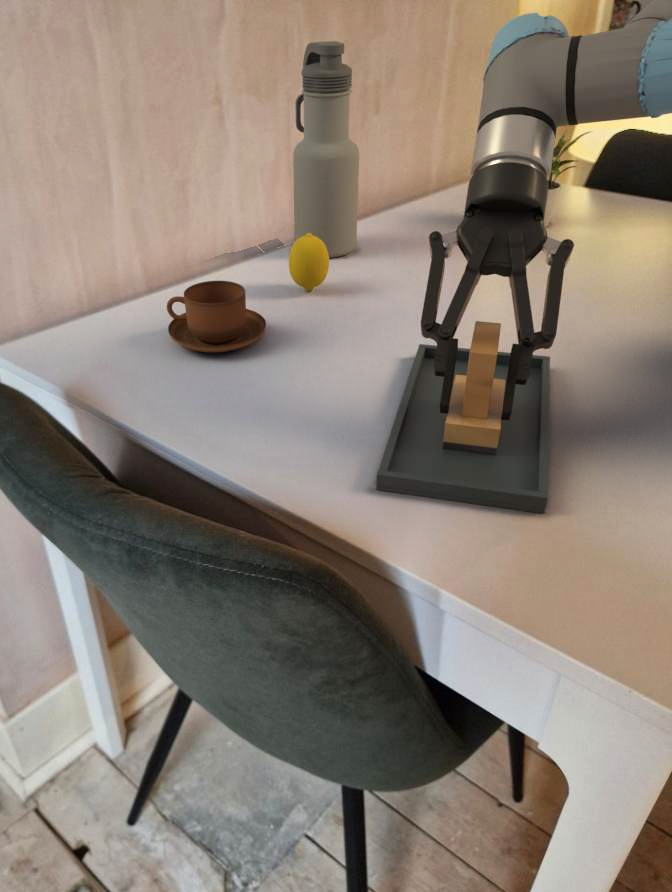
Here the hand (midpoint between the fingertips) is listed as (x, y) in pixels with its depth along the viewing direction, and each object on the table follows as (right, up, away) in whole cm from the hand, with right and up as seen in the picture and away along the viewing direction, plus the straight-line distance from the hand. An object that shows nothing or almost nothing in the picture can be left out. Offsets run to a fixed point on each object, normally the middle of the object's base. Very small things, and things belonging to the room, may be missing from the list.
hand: (474, 412), depth 71 cm
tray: (+1, 0, +6) cm, 6 cm away
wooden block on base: (+1, -1, +5) cm, 5 cm away
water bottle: (-12, +32, +50) cm, 61 cm away
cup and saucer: (-26, +12, +24) cm, 37 cm away
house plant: (+23, +40, +58) cm, 74 cm away
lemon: (-15, +21, +36) cm, 44 cm away
